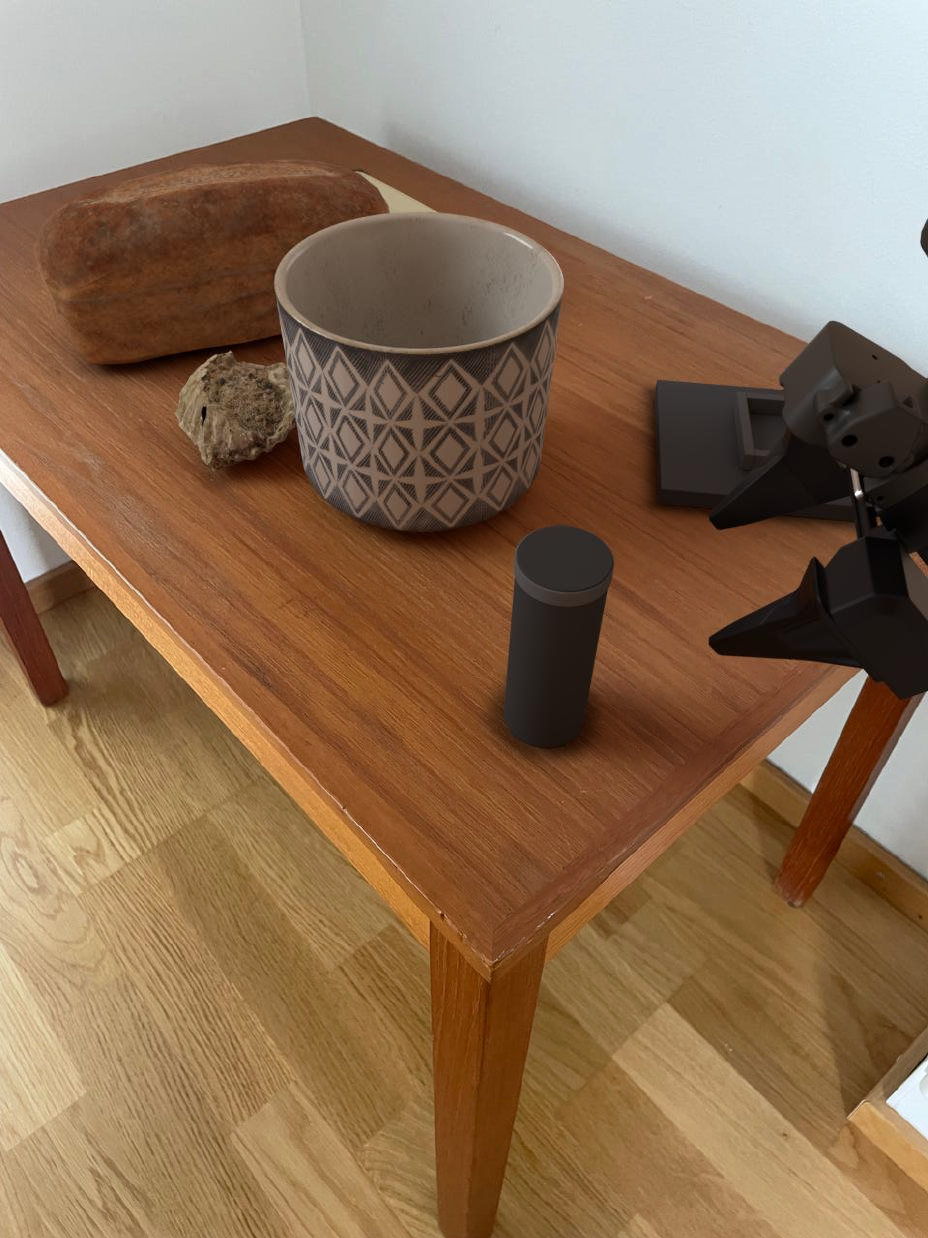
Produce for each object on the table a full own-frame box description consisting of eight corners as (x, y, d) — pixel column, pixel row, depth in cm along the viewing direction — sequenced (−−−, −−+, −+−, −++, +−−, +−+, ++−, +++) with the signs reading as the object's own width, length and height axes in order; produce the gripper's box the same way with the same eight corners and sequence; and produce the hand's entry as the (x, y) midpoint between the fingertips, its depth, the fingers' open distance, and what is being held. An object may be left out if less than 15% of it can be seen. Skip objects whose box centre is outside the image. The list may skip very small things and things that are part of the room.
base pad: (828, 408, 83) (839, 378, 81) (856, 522, 73) (869, 491, 71) (654, 393, 84) (660, 363, 82) (657, 504, 74) (664, 473, 72)
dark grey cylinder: (589, 689, 62) (618, 530, 52) (581, 755, 58) (611, 598, 48) (508, 677, 62) (521, 517, 52) (496, 742, 59) (508, 584, 49)
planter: (285, 416, 81) (259, 223, 69) (505, 388, 84) (517, 200, 72) (319, 572, 68) (294, 369, 56) (576, 531, 72) (604, 332, 60)
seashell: (199, 505, 77) (305, 473, 74) (142, 443, 72) (253, 406, 69) (229, 413, 84) (327, 379, 81) (179, 350, 79) (282, 312, 76)
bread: (408, 322, 92) (405, 178, 82) (73, 386, 83) (24, 234, 74) (368, 264, 99) (360, 126, 89) (57, 318, 91) (10, 172, 81)
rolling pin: (543, 310, 94) (547, 261, 90) (499, 328, 91) (502, 279, 88) (356, 195, 111) (353, 150, 107) (314, 208, 108) (310, 162, 105)
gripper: (911, 185, 43) (627, 373, 52) (994, 430, 30) (601, 620, 40) (1018, 360, 48) (742, 503, 57) (1127, 633, 35) (750, 760, 45)
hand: (712, 581), depth 50 cm, fingers open, 9 cm apart
